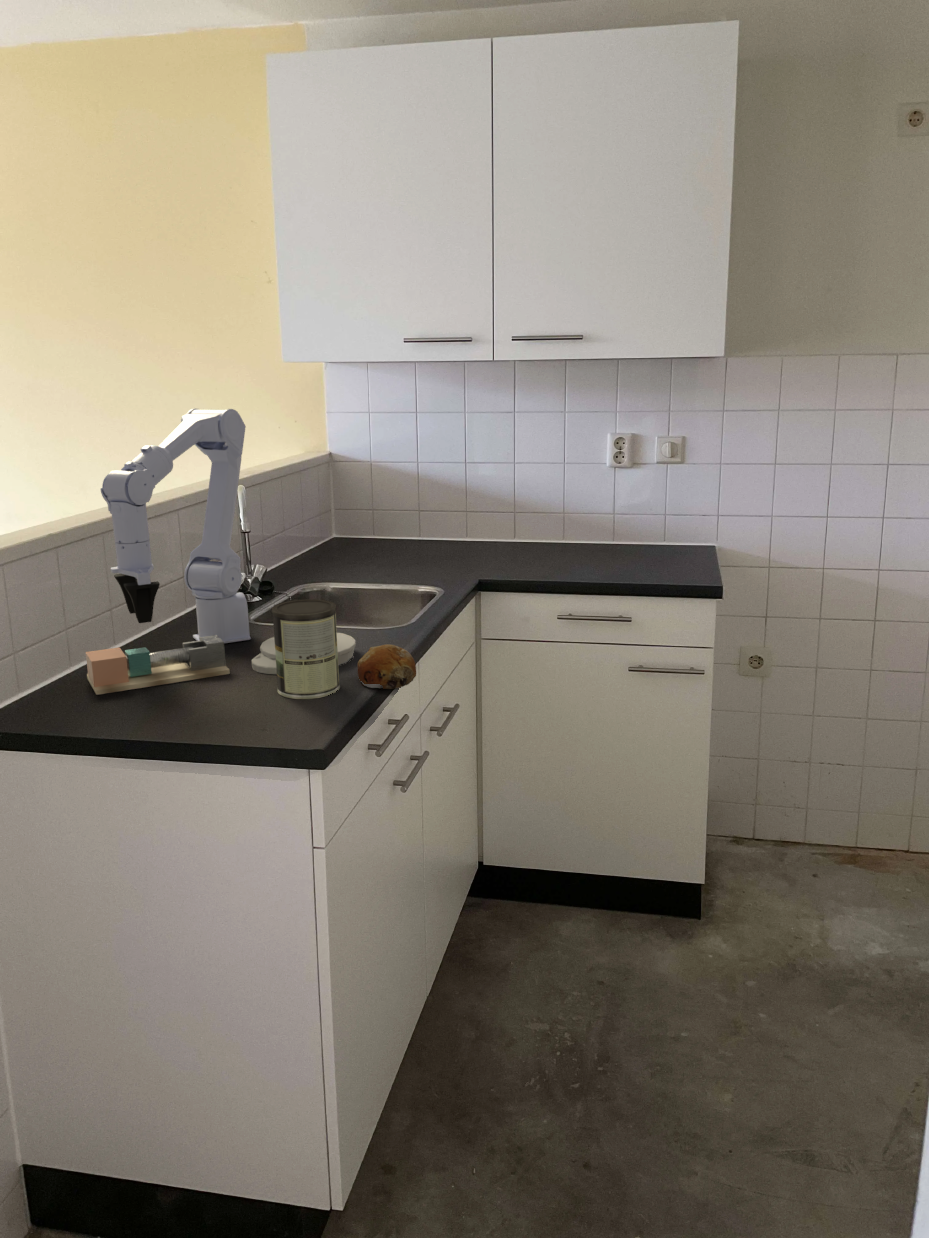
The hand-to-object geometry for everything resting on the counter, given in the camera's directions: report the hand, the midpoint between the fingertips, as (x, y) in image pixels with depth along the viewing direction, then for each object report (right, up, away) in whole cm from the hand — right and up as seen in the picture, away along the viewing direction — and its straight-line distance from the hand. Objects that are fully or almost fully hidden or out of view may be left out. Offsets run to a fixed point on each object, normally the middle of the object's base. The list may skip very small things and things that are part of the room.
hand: (140, 617), depth 173 cm
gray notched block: (+11, -9, +1) cm, 14 cm away
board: (+4, -10, -3) cm, 11 cm away
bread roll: (+44, -11, -7) cm, 46 cm away
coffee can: (+31, -12, -10) cm, 35 cm away
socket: (-3, -11, -6) cm, 13 cm away
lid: (+27, -8, +6) cm, 29 cm away
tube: (+3, -9, -4) cm, 10 cm away
